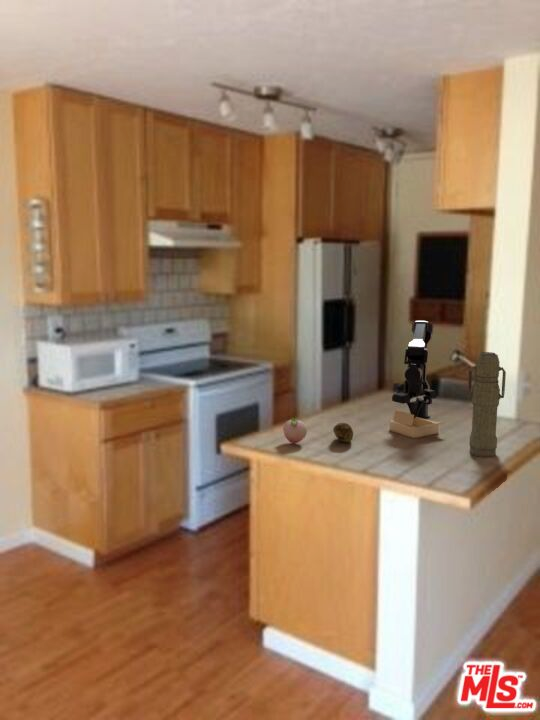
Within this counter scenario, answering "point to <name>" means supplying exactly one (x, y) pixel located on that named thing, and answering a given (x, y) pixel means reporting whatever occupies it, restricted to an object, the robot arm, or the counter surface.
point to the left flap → (431, 424)
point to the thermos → (485, 404)
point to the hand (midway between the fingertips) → (413, 417)
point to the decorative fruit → (294, 430)
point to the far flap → (403, 417)
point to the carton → (414, 428)
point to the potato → (343, 432)
